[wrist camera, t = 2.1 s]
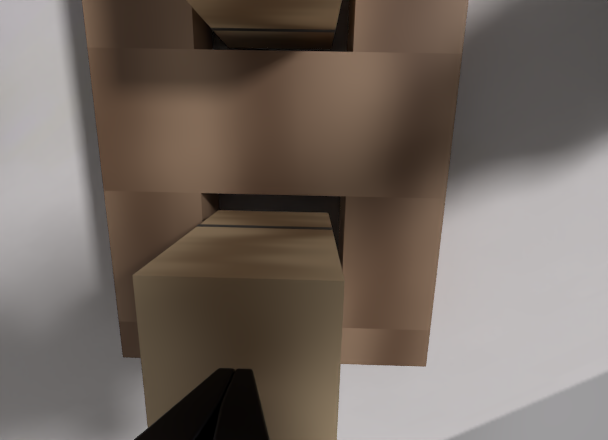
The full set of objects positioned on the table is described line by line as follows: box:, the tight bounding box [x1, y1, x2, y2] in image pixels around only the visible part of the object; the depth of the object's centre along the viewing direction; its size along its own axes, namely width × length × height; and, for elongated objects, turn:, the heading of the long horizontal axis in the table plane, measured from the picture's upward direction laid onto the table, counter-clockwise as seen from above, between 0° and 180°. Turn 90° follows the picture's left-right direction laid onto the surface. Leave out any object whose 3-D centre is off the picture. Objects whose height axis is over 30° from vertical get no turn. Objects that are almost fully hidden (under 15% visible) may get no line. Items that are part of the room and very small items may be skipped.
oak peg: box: [132, 210, 345, 440], centre depth 13 cm, size 5×5×8 cm
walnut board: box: [82, 0, 468, 366], centre depth 14 cm, size 16×24×8 cm, turn 179°
